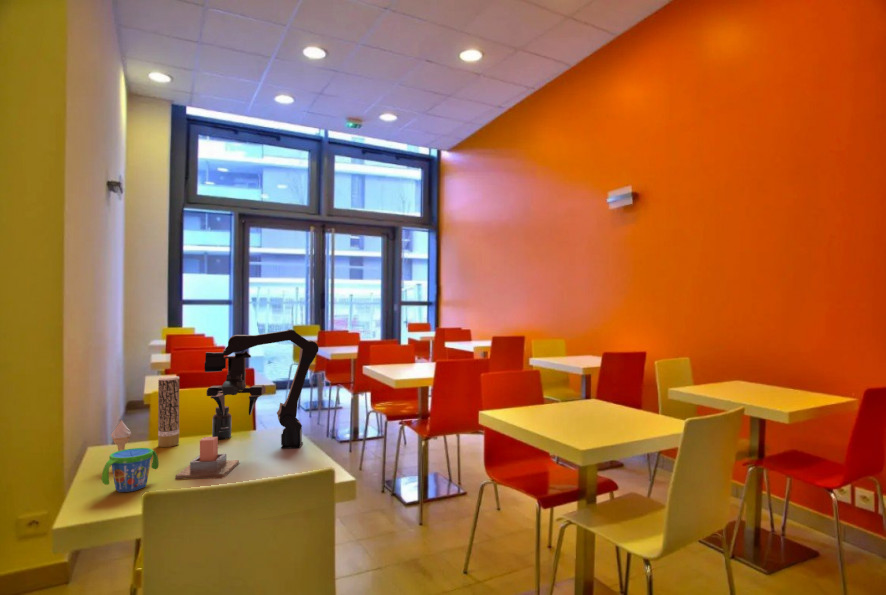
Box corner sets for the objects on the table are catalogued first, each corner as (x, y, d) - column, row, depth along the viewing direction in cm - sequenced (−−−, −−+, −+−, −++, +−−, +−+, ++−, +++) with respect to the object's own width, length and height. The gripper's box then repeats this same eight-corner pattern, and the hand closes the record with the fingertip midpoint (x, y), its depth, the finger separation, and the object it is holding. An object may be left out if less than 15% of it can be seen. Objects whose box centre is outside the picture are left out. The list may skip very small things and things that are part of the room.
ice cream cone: (109, 469, 160) (110, 422, 160) (111, 465, 165) (112, 418, 165) (130, 467, 163) (130, 420, 163) (132, 462, 168) (132, 416, 168)
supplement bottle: (224, 440, 194) (224, 409, 194) (208, 439, 196) (208, 408, 196) (235, 436, 201) (235, 405, 201) (219, 435, 202) (219, 405, 202)
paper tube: (182, 444, 189) (183, 377, 190) (164, 448, 183) (164, 379, 184) (172, 441, 193) (172, 375, 193) (154, 446, 187) (154, 378, 187)
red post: (217, 465, 161) (217, 436, 161) (213, 469, 157) (213, 440, 157) (204, 465, 161) (204, 437, 161) (199, 469, 157) (199, 440, 157)
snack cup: (147, 477, 153) (147, 443, 154) (169, 482, 148) (169, 447, 148) (91, 494, 140) (91, 457, 140) (113, 501, 135) (113, 462, 135)
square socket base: (239, 463, 167) (239, 450, 167) (223, 477, 153) (223, 464, 153) (194, 464, 166) (194, 451, 166) (175, 478, 152) (175, 465, 152)
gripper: (200, 374, 171) (200, 420, 171) (257, 373, 172) (256, 419, 172) (212, 369, 182) (212, 413, 182) (266, 369, 183) (265, 412, 183)
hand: (236, 415), depth 179 cm, fingers open, 9 cm apart
